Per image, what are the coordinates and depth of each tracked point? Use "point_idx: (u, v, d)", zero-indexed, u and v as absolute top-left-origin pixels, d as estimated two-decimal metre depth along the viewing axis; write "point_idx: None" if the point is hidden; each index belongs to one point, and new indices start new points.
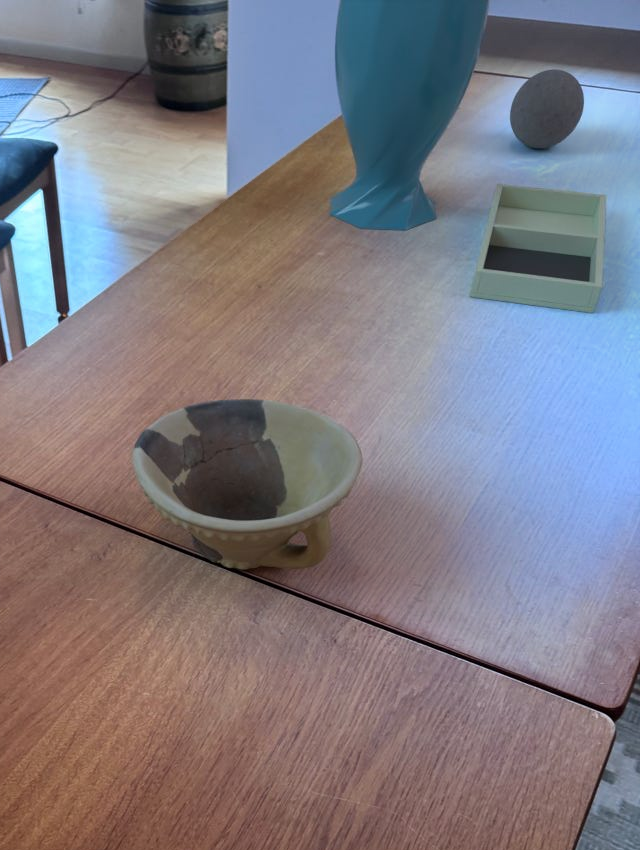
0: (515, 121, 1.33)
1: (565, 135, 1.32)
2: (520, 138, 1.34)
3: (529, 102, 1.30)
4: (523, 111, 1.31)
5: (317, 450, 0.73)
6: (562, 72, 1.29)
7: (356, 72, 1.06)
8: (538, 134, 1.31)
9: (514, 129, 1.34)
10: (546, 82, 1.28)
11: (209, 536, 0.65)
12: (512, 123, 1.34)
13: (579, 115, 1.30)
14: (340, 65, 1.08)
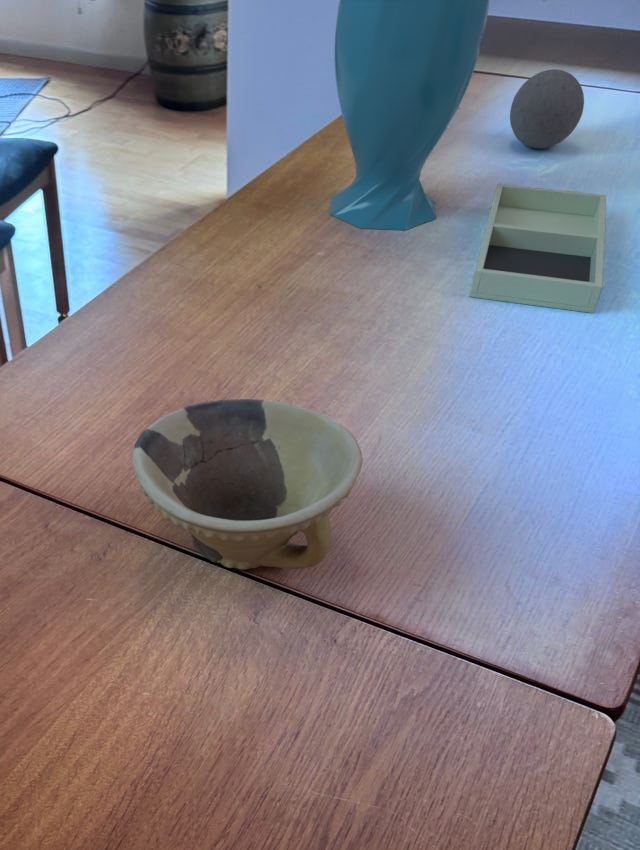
0: (515, 121, 1.33)
1: (565, 135, 1.32)
2: (520, 138, 1.34)
3: (529, 102, 1.30)
4: (523, 111, 1.31)
5: (317, 450, 0.73)
6: (562, 72, 1.29)
7: (356, 72, 1.06)
8: (538, 134, 1.31)
9: (514, 129, 1.34)
10: (546, 82, 1.28)
11: (209, 536, 0.65)
12: (512, 123, 1.34)
13: (579, 115, 1.30)
14: (340, 65, 1.08)
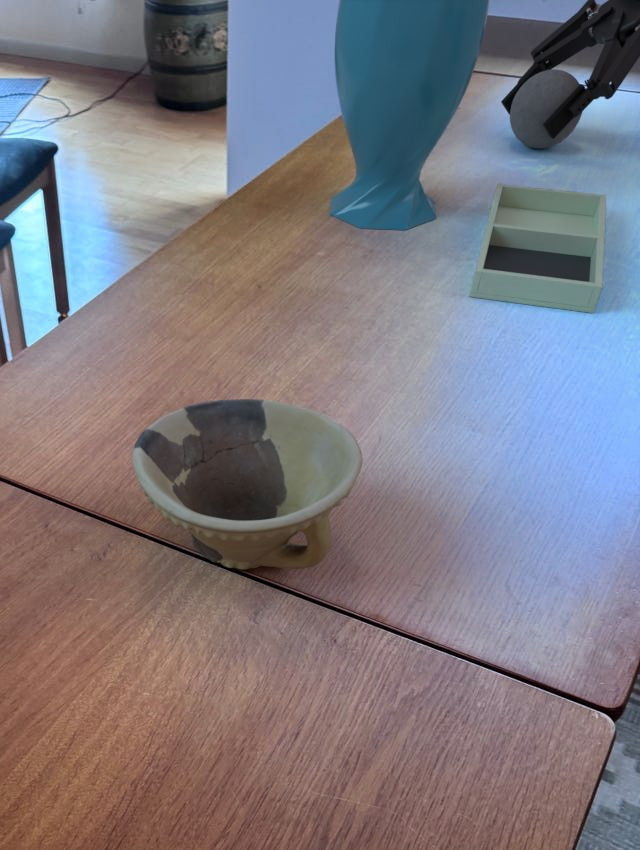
0: (514, 121, 1.33)
1: (565, 135, 1.32)
2: (520, 138, 1.34)
3: (529, 102, 1.30)
4: (523, 111, 1.31)
5: (317, 450, 0.73)
6: (562, 72, 1.29)
7: (356, 72, 1.06)
8: (538, 134, 1.31)
9: (514, 129, 1.34)
10: (545, 82, 1.28)
11: (209, 536, 0.65)
12: (512, 123, 1.34)
13: (579, 115, 1.30)
14: (340, 65, 1.08)
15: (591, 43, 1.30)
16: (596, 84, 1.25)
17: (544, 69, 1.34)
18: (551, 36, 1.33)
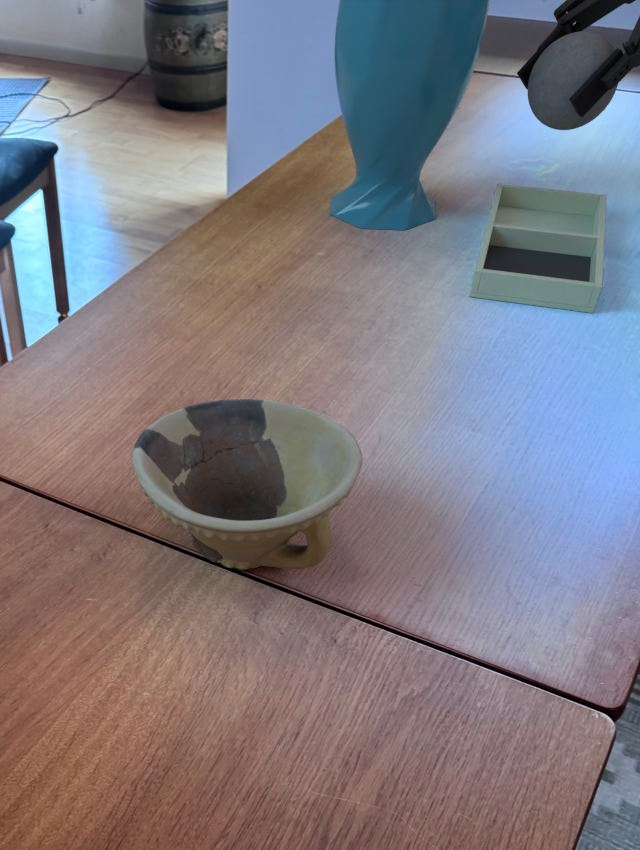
0: (533, 97, 1.08)
1: (596, 113, 1.07)
2: (540, 117, 1.09)
3: (552, 72, 1.05)
4: (545, 83, 1.06)
5: (317, 450, 0.73)
6: (593, 34, 1.04)
7: (356, 72, 1.06)
8: (563, 112, 1.06)
9: (533, 106, 1.09)
10: (573, 46, 1.03)
11: (209, 536, 0.65)
12: (530, 99, 1.09)
13: (614, 88, 1.05)
14: (340, 65, 1.08)
15: None
16: (637, 48, 1.00)
17: (570, 33, 1.09)
18: None
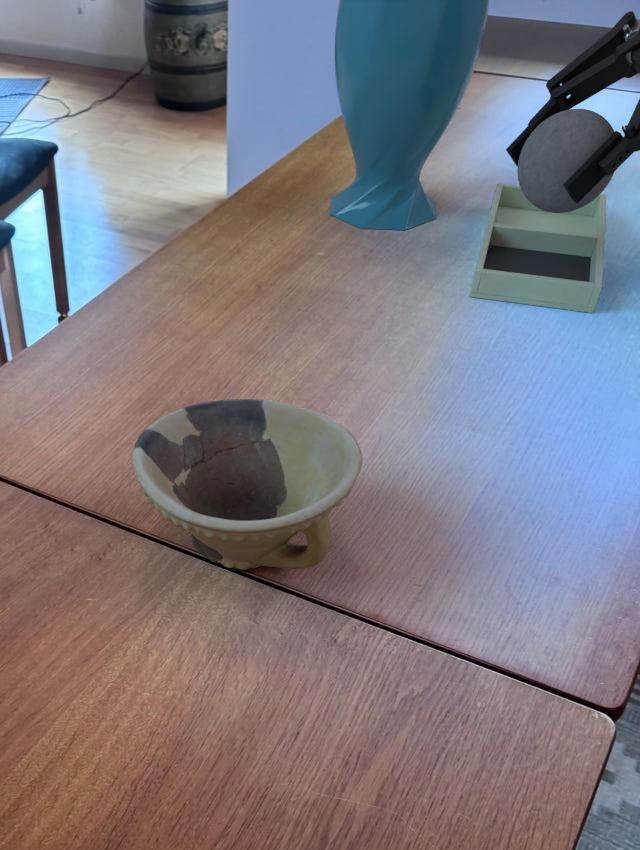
0: (524, 178, 0.98)
1: (592, 197, 0.97)
2: (531, 200, 1.00)
3: (544, 154, 0.95)
4: (536, 166, 0.96)
5: (317, 450, 0.73)
6: (589, 113, 0.94)
7: (356, 72, 1.06)
8: (556, 197, 0.97)
9: (523, 188, 0.99)
10: (567, 127, 0.94)
11: (209, 536, 0.65)
12: (521, 180, 0.99)
13: None
14: (340, 65, 1.08)
15: (629, 73, 0.96)
16: (638, 132, 0.91)
17: (564, 106, 1.00)
18: (574, 63, 0.98)
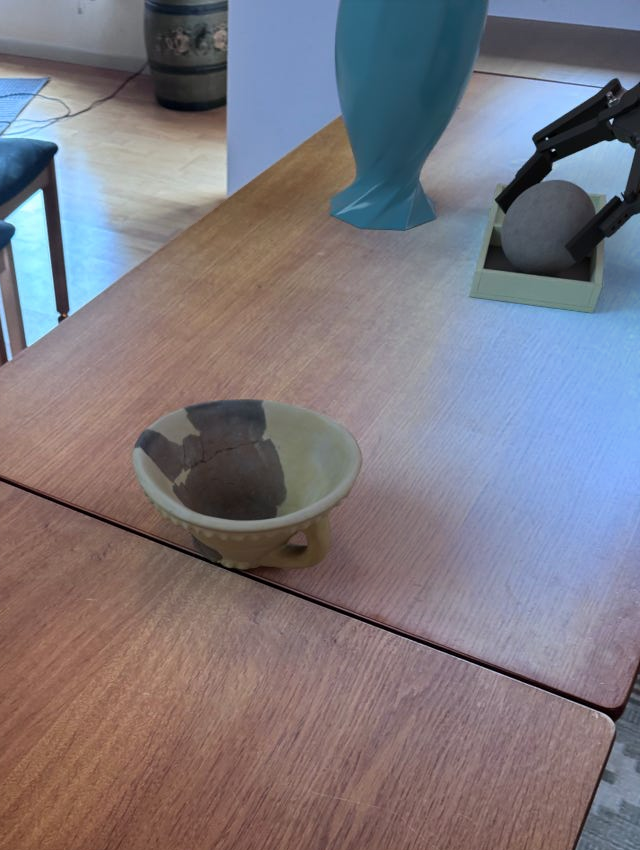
0: (507, 244, 1.03)
1: (572, 263, 1.03)
2: (514, 264, 1.05)
3: (526, 223, 1.00)
4: (518, 234, 1.01)
5: (317, 450, 0.73)
6: (568, 185, 0.99)
7: (356, 72, 1.06)
8: (538, 263, 1.02)
9: (506, 253, 1.04)
10: (547, 198, 0.99)
11: (209, 536, 0.65)
12: (504, 245, 1.04)
13: None
14: (340, 65, 1.08)
15: (609, 137, 1.01)
16: (636, 197, 0.94)
17: (548, 160, 1.05)
18: (559, 121, 1.04)
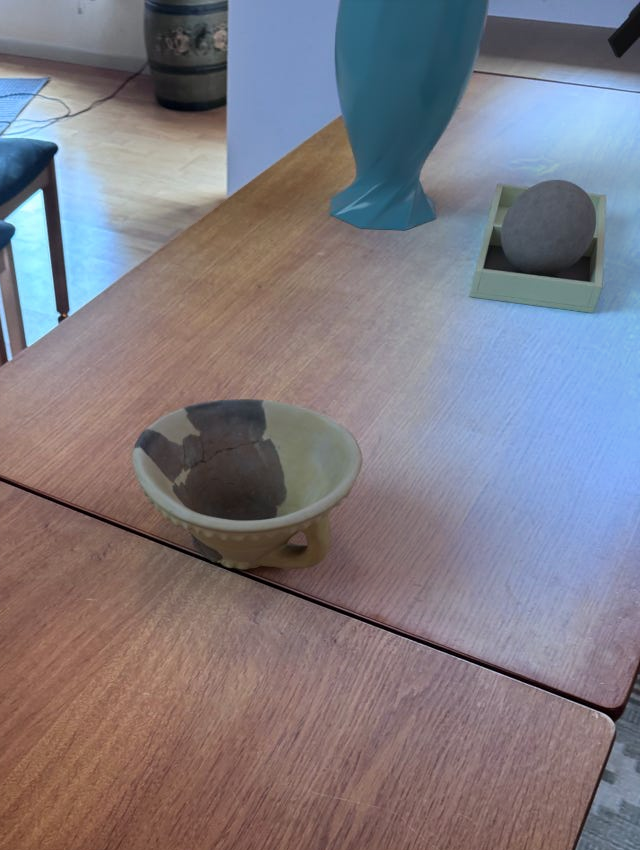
0: (507, 244, 1.03)
1: (572, 263, 1.03)
2: (514, 264, 1.05)
3: (526, 223, 1.00)
4: (518, 234, 1.01)
5: (317, 450, 0.73)
6: (568, 185, 0.99)
7: (356, 72, 1.06)
8: (538, 263, 1.02)
9: (506, 253, 1.04)
10: (547, 198, 0.99)
11: (209, 536, 0.65)
12: (504, 245, 1.04)
13: (590, 239, 1.01)
14: (340, 65, 1.08)
15: None
16: None
17: None
18: None
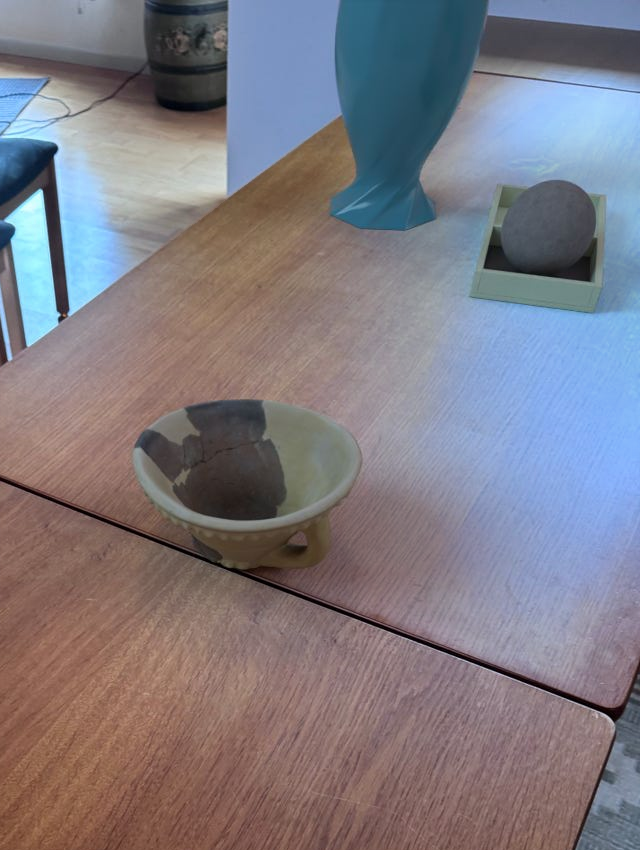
0: (507, 244, 1.03)
1: (572, 263, 1.03)
2: (514, 264, 1.05)
3: (526, 223, 1.00)
4: (518, 234, 1.01)
5: (317, 450, 0.73)
6: (568, 185, 0.99)
7: (356, 72, 1.06)
8: (538, 263, 1.02)
9: (506, 253, 1.04)
10: (547, 198, 0.99)
11: (209, 536, 0.65)
12: (504, 245, 1.04)
13: (590, 239, 1.01)
14: (340, 65, 1.08)
15: None
16: None
17: None
18: None
